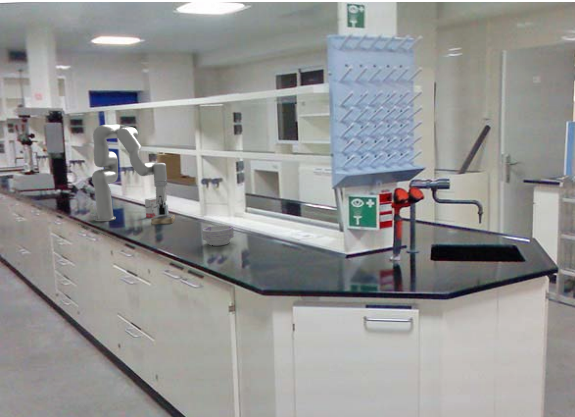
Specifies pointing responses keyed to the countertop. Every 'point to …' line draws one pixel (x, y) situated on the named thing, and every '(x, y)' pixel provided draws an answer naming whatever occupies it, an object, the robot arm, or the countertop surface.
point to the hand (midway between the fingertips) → (163, 213)
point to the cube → (165, 210)
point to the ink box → (151, 207)
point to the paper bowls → (218, 235)
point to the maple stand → (163, 219)
